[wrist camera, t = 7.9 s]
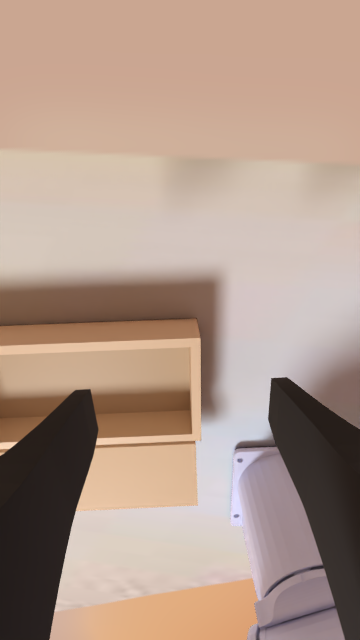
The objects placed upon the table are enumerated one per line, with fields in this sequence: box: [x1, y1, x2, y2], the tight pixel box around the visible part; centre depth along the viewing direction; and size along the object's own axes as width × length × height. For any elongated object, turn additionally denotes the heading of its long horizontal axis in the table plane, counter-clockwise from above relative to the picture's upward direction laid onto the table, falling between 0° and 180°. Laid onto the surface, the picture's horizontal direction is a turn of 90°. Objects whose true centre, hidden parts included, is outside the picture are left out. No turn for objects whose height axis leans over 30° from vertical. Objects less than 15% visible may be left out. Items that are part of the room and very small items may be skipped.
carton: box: [0, 318, 201, 449], centre depth 21 cm, size 8×16×3 cm, turn 92°
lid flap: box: [0, 441, 198, 511], centre depth 22 cm, size 4×15×1 cm, turn 91°
